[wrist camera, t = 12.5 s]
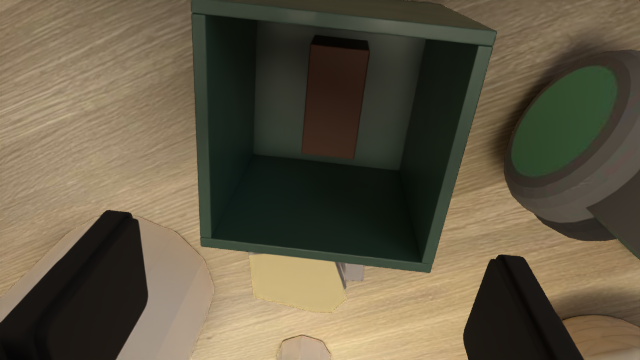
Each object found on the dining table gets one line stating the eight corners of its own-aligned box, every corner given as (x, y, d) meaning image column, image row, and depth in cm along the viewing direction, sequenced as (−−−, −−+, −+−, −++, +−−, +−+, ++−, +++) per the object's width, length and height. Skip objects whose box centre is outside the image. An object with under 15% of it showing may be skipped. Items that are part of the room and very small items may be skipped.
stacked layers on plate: (251, 277, 38) (237, 324, 33) (241, 190, 34) (223, 229, 29) (363, 280, 38) (365, 328, 33) (366, 192, 33) (370, 231, 29)
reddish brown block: (314, 34, 28) (309, 43, 25) (367, 40, 28) (370, 50, 25) (305, 134, 31) (300, 153, 28) (353, 139, 31) (354, 159, 28)
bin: (250, -17, 27) (190, -3, 17) (440, 4, 27) (497, 31, 17) (246, 156, 33) (200, 246, 22) (404, 174, 33) (430, 273, 22)
